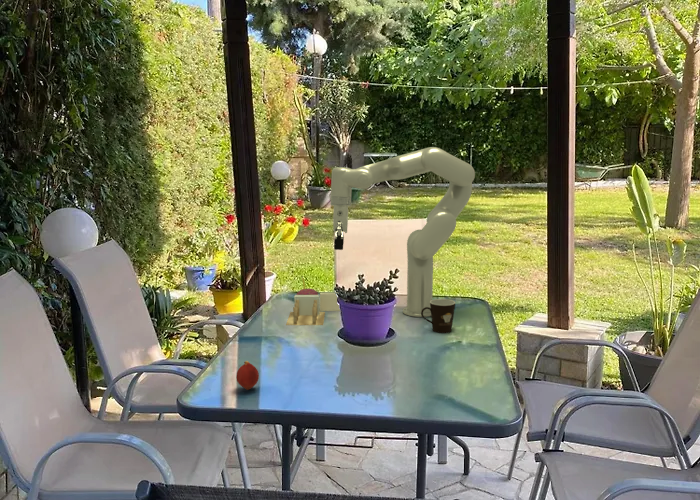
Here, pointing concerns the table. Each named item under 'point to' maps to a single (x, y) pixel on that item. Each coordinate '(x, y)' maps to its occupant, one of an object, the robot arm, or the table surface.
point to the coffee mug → (441, 315)
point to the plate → (307, 304)
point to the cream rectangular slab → (328, 302)
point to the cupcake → (306, 290)
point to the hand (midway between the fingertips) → (338, 247)
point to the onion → (247, 375)
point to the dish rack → (305, 316)
